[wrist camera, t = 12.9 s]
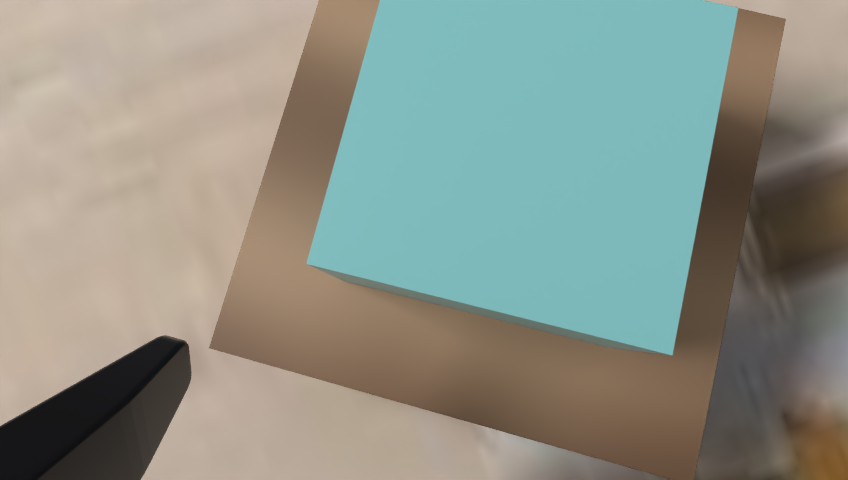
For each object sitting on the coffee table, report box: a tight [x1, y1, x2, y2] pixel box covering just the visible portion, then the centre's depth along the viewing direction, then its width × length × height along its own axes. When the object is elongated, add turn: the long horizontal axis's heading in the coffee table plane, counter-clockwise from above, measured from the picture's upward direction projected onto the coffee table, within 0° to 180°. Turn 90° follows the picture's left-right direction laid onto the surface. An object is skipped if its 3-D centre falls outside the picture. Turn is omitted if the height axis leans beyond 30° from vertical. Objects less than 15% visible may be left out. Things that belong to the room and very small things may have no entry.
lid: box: [306, 0, 738, 355], centre depth 13 cm, size 7×7×4 cm
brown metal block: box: [209, 0, 786, 480], centre depth 17 cm, size 12×12×5 cm
